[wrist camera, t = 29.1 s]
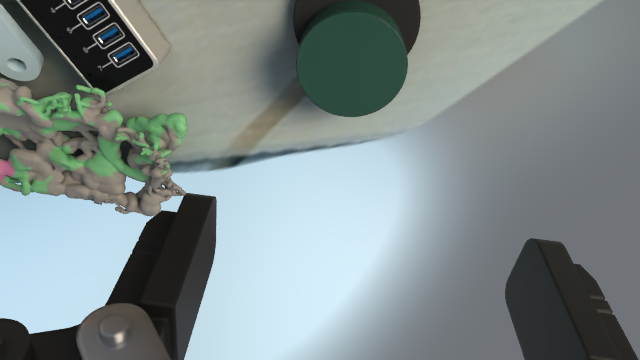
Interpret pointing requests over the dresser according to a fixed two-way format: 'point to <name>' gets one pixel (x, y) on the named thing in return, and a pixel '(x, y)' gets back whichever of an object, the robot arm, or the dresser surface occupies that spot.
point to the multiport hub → (101, 38)
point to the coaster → (397, 3)
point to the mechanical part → (17, 51)
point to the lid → (352, 59)
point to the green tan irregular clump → (87, 149)
